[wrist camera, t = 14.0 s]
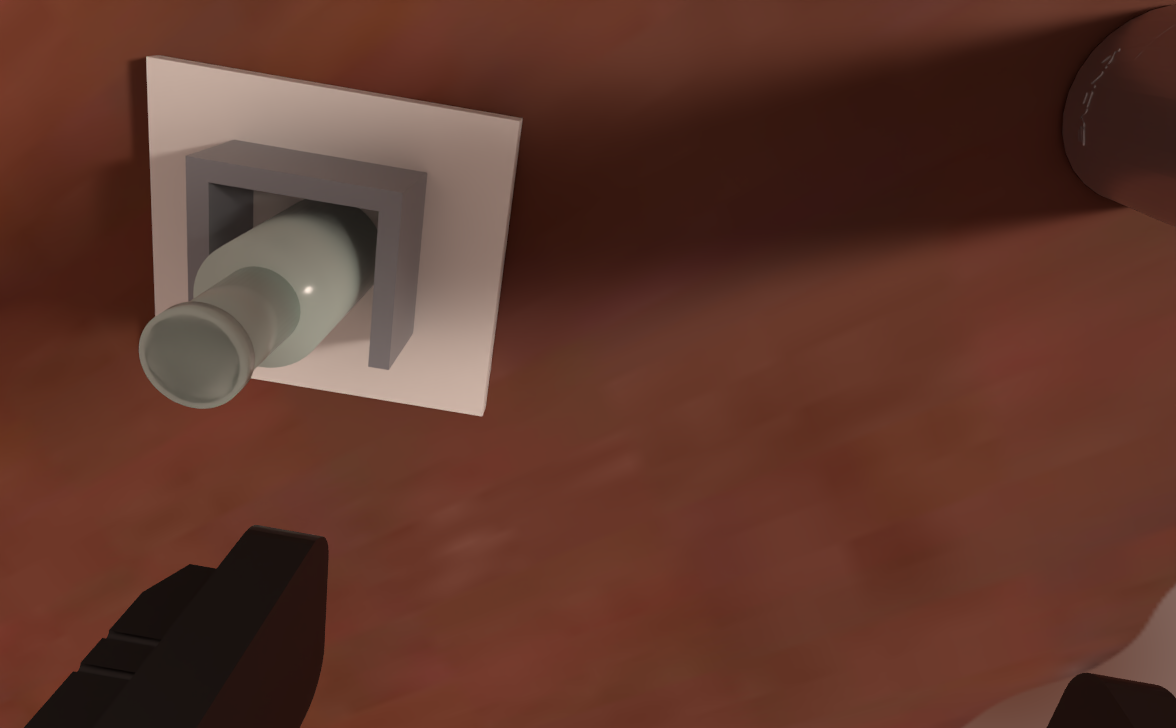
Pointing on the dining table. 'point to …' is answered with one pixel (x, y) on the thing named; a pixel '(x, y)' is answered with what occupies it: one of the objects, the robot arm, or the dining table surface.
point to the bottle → (261, 302)
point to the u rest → (352, 178)
